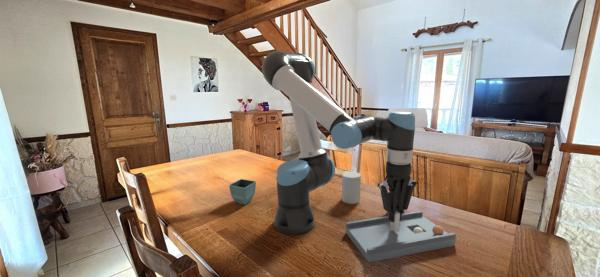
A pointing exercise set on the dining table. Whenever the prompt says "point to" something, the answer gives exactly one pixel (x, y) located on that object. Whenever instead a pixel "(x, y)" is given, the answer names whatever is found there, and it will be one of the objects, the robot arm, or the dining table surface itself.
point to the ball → (417, 230)
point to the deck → (396, 237)
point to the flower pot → (242, 190)
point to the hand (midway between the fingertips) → (394, 229)
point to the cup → (351, 187)
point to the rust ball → (438, 230)
